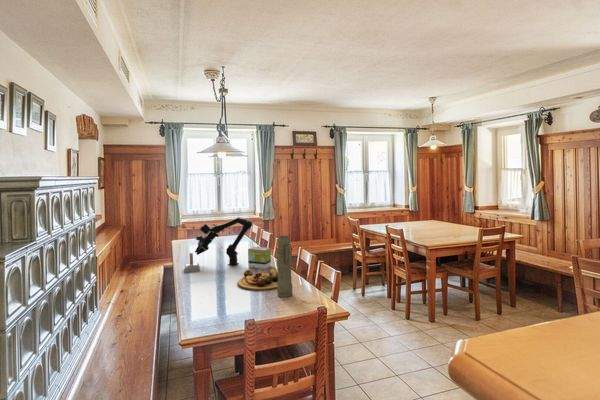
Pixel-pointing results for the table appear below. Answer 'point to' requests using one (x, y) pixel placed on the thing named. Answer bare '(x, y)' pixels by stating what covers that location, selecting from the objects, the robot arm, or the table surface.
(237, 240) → the robot arm
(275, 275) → the wooden plate with food
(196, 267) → the box
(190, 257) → the cover plate
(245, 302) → the table surface
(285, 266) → the grey-green tall block
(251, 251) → the tea box
